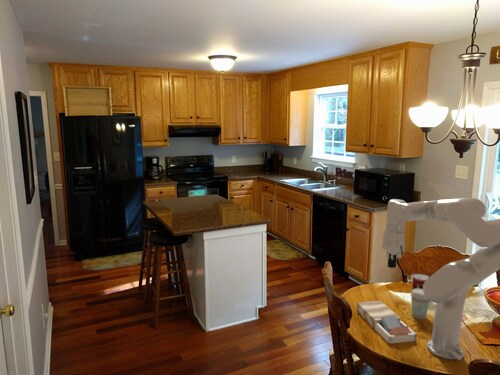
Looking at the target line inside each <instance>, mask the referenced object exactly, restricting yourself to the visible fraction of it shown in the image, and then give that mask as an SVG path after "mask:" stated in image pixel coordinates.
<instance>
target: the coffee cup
mask: <svg viewBox="0 0 500 375" xmlns="http://www.w3.org/2000/svg"><path fill="white" fill-rule="evenodd" d="M410 296H411V315H412V317H413V318H415V319H418V320H425V319H426V318H427V314H428V310H429V306H430V302H431V301H430V300H428V299H427V298H426V297H425V295H424V292H423V289H413V290H412V289H411V293H410Z"/></svg>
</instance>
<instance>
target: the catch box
mask: <svg viewBox="0 0 500 375" xmlns="http://www.w3.org/2000/svg"><path fill="white" fill-rule="evenodd" d="M398 322H399V324H400V325H401V327H403V326H408V325H407V324H406V323H405V322H403V321H402V320H401V319H400V320H399V321H398ZM408 328H409V331H410V333H408V334H398V335H390V334H389V333H388V332H387V331H386V330H385V328H383V327H382V326H381V325H380V324H379V323H375V329H374V330H375V331H376V332H377V333H378V334H379V335H380V336H381V337H382V338H383V339H384V340H385V341H386V342H387V343H388V344H398V343H399V344H400V343H409V342H416V341H417V333H416V332H415V331H414V330H413V329H412V328H410V326H408Z"/></svg>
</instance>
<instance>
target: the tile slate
mask: <svg viewBox="0 0 500 375" xmlns="http://www.w3.org/2000/svg"><path fill="white" fill-rule="evenodd" d="M381 322H382V324H383V326H384V329H385V330H386V331H387V332H388V331H389V330H391V329H393V328H394V327H401V325H400V324H399V322H398V320H397V318H396V316H384V317H382V318H381Z"/></svg>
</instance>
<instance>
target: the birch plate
mask: <svg viewBox="0 0 500 375" xmlns="http://www.w3.org/2000/svg"><path fill="white" fill-rule="evenodd" d="M356 304H357V305H356V312H357V313H359V315H361V317H362V318H363V319H364V320H365V321H366V322H367V323H368V324H369V325H370V326H371V327H372V328H373V329H374V330H375V323H379V324H380V325H381V326H382V327H383V328H384V326H383V324H382V322H381V318H382V317H384V316H396V318H397V320H398V321H399V320H401V317H400V316H399V315H398V314H397V313H395V312H394V311H393V310H392V309H391V308H389V307H388V306H387V305H386V304H385V303H384V302H383V301H382V300H375V301H374V300H373V301H362V302H357V303H356ZM384 329H385V328H384Z"/></svg>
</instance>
